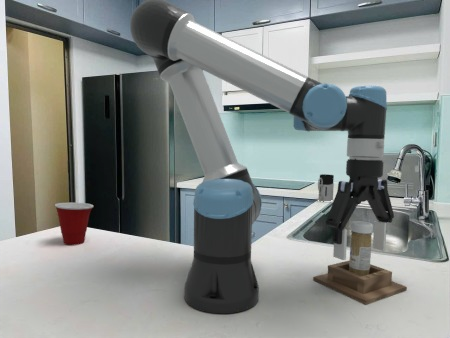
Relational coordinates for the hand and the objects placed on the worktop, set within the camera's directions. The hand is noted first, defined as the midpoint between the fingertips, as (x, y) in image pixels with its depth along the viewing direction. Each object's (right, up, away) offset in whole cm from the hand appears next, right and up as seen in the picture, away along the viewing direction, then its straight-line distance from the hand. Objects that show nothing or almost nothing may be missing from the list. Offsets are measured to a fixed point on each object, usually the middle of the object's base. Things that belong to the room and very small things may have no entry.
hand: (360, 253), depth 77 cm
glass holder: (+25, 0, +116) cm, 118 cm away
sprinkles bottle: (0, -7, +1) cm, 7 cm away
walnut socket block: (0, -7, +1) cm, 7 cm away
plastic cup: (-76, -4, +29) cm, 82 cm away
